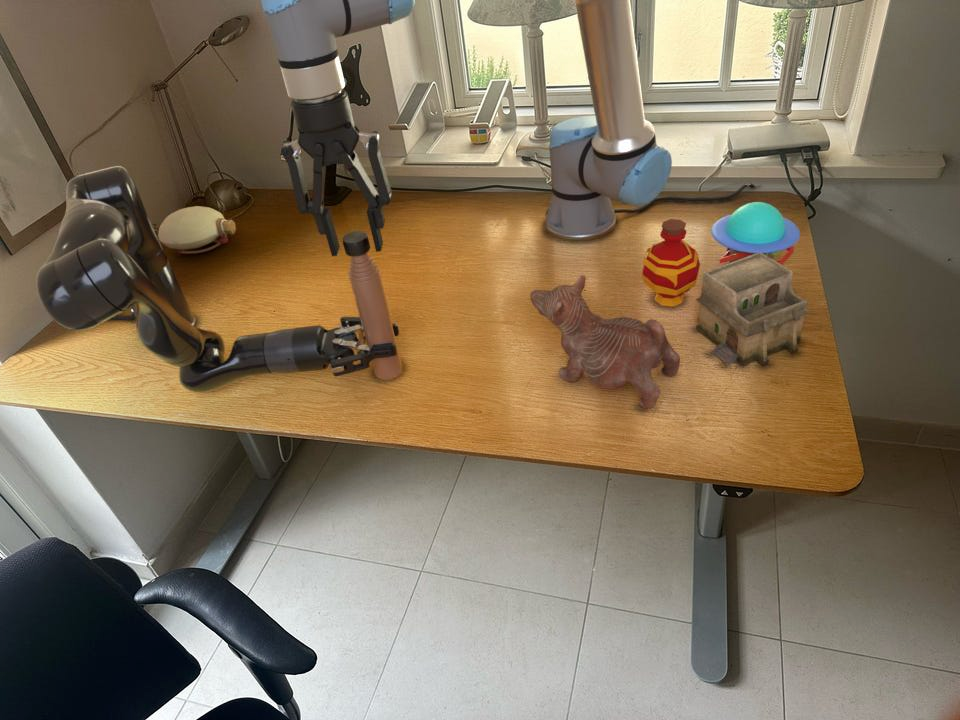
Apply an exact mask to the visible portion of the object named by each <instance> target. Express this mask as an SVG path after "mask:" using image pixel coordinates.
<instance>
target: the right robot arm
mask: <svg viewBox="0 0 960 720" xmlns="http://www.w3.org/2000/svg"><path fill="white" fill-rule="evenodd" d="M572 1H573V2H574V5H575V10H576V16H577V22H578V26H579V27H578V28H579V33H580V37H581V38H580V39H581V46H582V50H583V54H584V56H583V57H584V62H585V67H586V72H587V78H588V84H589V89H590V95H591V100H592V106H593V112H594V115H582V116H577V117H573V118H568V119H566V120H563V121H560V122H558V123H557V124H555V125H554V126H553V127H552V128H551V130H550V131H549V145H548V149H549V162H550V163H549V164H550V176H551V178H550V179H551V188H552V189H551V190H552V191H551V193H552V194H551V198H550V202H549V206H548V208H547V209H546V212H545V215H544V216H545V229H546V232H547V233H548V234H549V236H550V235H551V236H552V237H553V238H556V239H558V240H561V241H567V242H586V241H587V242H588V241H594V240H597V239H600V238H604V237H605V236H607V235H608V234H610V233H611V232H613V230H614V229H615V227H616V223H617V218H616V214H620V213H625V214H626V213H629V214H634V213H635V214H636V213H639V212H642V211H644V210H646V208H648V207H650V205H652V204H653V203H657V202H659V201H669V200H671V201H684V202H704V201H705V202H707V201H723V200H729V199H731V198H732V199H733V198H734V197H736V196H737V195H739V194H740V193H741V192H742V191H743V190H745V189H746V188H747V187H748V186H747V185H744V184H743V185H742V186H741V187H740V188H738V189H737V190H736V191H734V192H732V193H731V194H727V195H722V196H707V197H706V196H704V197H703V196H702V197H701V196H700V197H688V196H687V197H686V196H673V195H667V196H659V195H660V194H661V193H662V191H663V189H665V186H666V184H667V183H668V180H669V179H670V176H671V170H672V164H673V160H672V155H671V152H669V150H667V149H666V148H665V147H664V146H658V144H657V138H656V130H655V126H654V125H653V123H652V122H650V121H648V120H647V119H645V118H646V117H645V111H644V110H645V109H644V101H643V95H642V87H641V79H640V71H639V62H638V53H637V47H636V38H635V31H634V23H633V15H632V6H631V0H572ZM260 2H261V8H262V12H263V13H264V17H265V20H266V23H267V26H268V30H269V33H270V36H271V40H272V43H273V45H274V49H275V52H276V55H277V59H278V63H279V67H280V71H281V75H282V78H283V82H284V86H285V89H286V92H287V96H288V97H289V98H290V99H291V102H290V108H291V110H292V113H293V118H294V121H295V124H296V125H295V126H296V129H297V131H298V136H297V139H295V140H293V141H290V140H287V141H285V142H284V144H283V145H282V147H281V149H280V153H281V155H282V157H283V159H284V160H285V162H286V163H287V166H288V170H289V175H290V178H291V183H292V188H293V190H294V191H293V192H294V196H295V200H296V204H297V205H296V206H297V209H298V212H299V213H300V214H310V215H312V216H313V219H314V221H315V224H316V228H317V231H318V233H319V234H320V236H323V235H325V237H326V240H327V244H328V247H329V251H330V255H331V257H337V256H338V253H339V251H340V248H341V246H340V242H339V238H338V234H337V232H336V227H335V224H334V220H333V216H332V214H331V210H330V208H329V207H327V208H324V207H325V203H324V201H325V185H326V184H325V183H326V168H327V167H328V166H331V165H334V164H335V165H343V166H344V168H345V169H346V171H348V172H349V174H350V175H351V177H352V179H353V180H354V182H355V184H356V185H357V187H358V189H359V190H360V192H361V194H362V196H363V197H364V199H365V200H366V203H367V204H368V206H367V210H366V216H367V220H368V224H369V228H370V233H371V236H372V240H373V244H374V245H373V246H374V249H375V252H376V253H377V252H379V253H380V252H382V249H383V245H384V240H383V236H382V232H381V229H384V226H385V224H386V220H385V215H384V210H383V207H384V206H385V205H386V206H388V205H390V204H391V201H392V198H393V197H392V196H393V192H392V188H391V184H390V182H389V177H388V175H387V174H388V173H387V170H386V167H385V164H384V160H383V157H382V153H381V150H380V139H381V134H380V133H379V131H376V130H374V131H371V133H370V132H365V131H360V129H359V127H358V126H357V125H356V123H355V121H354V116H353V112H352V108H351V103H350V100H349V95H348V92H347V91H346V90H345V89H344V88H345V86H346V81H345V78H344V74H343V70H342V69H343V68H342V65H341V61H340V56H339V50H338V47H337V41H336V38H341V37H345V36H347V35H350V34H351V35H352V34H355V33H358V32H362V31H365V30H370V29H374V28H377V27H381V26H385V25H392V24H393V23H395V22H398V21H400V20H403V19H405V18H407V17H409V16H410V15H411V13H412V12H413V11H414V8H415V4H416V0H260ZM359 142H360V143H361V144H362V146H363V149H364V150H366V151H367V154H368V160H369V163H370V167H371V170H372V173H373V177H374V179H375V184H376V186H377V189H378V191H377V189H376V187H375V186H374V184H373V182H372V181H371V179H370V178H369V175H368V174H367V172H366V170H365V168H364V167H363V165H362V163H361V162H360V159H359V156H358V155H357V153H356V151H355V149H356V147H357V145H358V143H359ZM301 149H302V150H303V151H304V152H305V153H306V154H307V155H308V156H309V157H311V159H313V163H312V164H313V165H312V171H313V178H312V179H313V181H312V199H310V195H309V190H308V186H307V181H306V176H305V171H304V168H303V163H302V158H301V155H302V150H301ZM749 187H750V188H751V189H754V188H756V186H755V184H753V183H751V185H750V186H749ZM611 199H612V200H614V201H617V202H619V203H620V204H623V205H629V206H633V207H638V208H635V209H629V208H628V209H627V208H623V209H621V208H620V209H614V205H613V204H612V200H611Z"/></svg>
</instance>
